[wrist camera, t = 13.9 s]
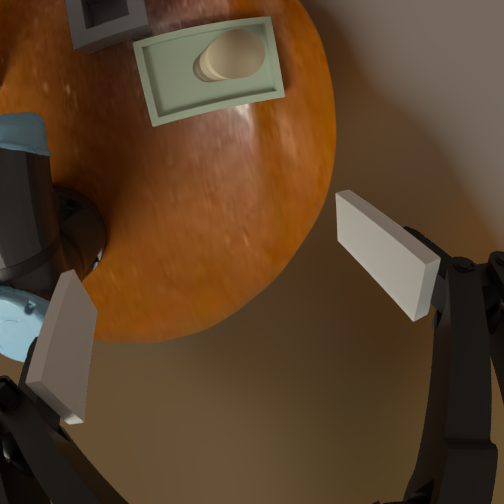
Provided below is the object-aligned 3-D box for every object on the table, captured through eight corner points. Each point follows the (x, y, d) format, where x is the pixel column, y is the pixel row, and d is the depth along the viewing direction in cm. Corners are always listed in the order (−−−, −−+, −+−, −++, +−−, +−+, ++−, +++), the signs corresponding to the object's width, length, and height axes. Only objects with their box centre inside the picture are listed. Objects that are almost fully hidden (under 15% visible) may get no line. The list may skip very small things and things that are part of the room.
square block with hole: (87, 54, 31) (73, 49, 25) (77, 1, 26) (63, -12, 20) (151, 33, 32) (148, 23, 26) (140, -20, 27) (137, -37, 21)
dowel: (196, 85, 36) (217, 82, 22) (189, 55, 34) (207, 33, 20) (228, 78, 37) (269, 73, 23) (222, 48, 35) (260, 25, 21)
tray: (153, 124, 39) (152, 127, 37) (134, 45, 32) (132, 42, 30) (278, 96, 41) (284, 96, 39) (264, 19, 35) (270, 16, 32)
